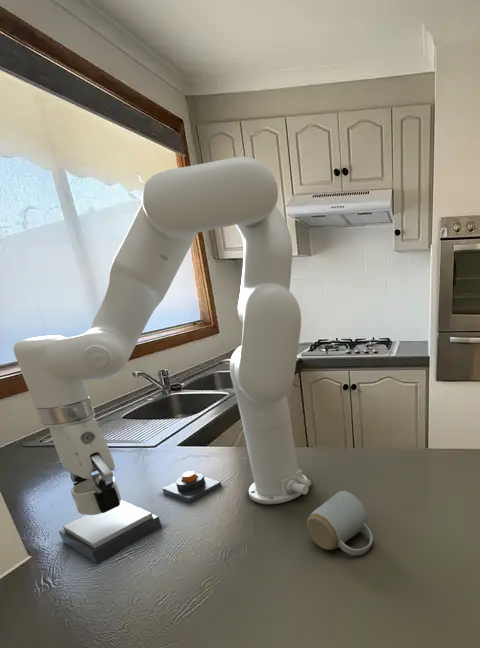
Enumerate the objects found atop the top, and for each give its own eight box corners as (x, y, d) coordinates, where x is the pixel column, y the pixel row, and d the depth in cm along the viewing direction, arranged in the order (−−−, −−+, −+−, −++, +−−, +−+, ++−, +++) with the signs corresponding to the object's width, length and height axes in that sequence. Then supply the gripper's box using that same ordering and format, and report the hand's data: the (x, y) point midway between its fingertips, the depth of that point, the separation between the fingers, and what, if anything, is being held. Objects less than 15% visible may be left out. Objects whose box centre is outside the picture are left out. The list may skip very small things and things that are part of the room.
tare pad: (222, 487, 95) (219, 475, 94) (190, 504, 89) (187, 491, 87) (194, 478, 100) (191, 466, 99) (163, 493, 94) (160, 481, 93)
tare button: (199, 478, 94) (197, 472, 93) (188, 484, 91) (186, 477, 91) (191, 476, 95) (190, 470, 94) (180, 481, 93) (178, 475, 92)
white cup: (129, 502, 78) (122, 480, 77) (90, 520, 73) (81, 497, 71) (110, 494, 82) (103, 473, 80) (72, 511, 77) (63, 489, 75)
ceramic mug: (306, 544, 73) (300, 506, 70) (338, 521, 78) (333, 485, 75) (353, 567, 66) (349, 526, 63) (384, 540, 72) (381, 501, 69)
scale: (162, 527, 81) (157, 512, 80) (97, 564, 72) (90, 547, 71) (126, 511, 88) (121, 496, 87) (63, 542, 79) (56, 526, 78)
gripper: (116, 411, 69) (145, 505, 76) (68, 399, 78) (98, 484, 85) (65, 427, 63) (102, 527, 70) (20, 412, 72) (56, 502, 79)
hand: (100, 503), depth 77 cm, fingers closed on white cup, 6 cm apart
